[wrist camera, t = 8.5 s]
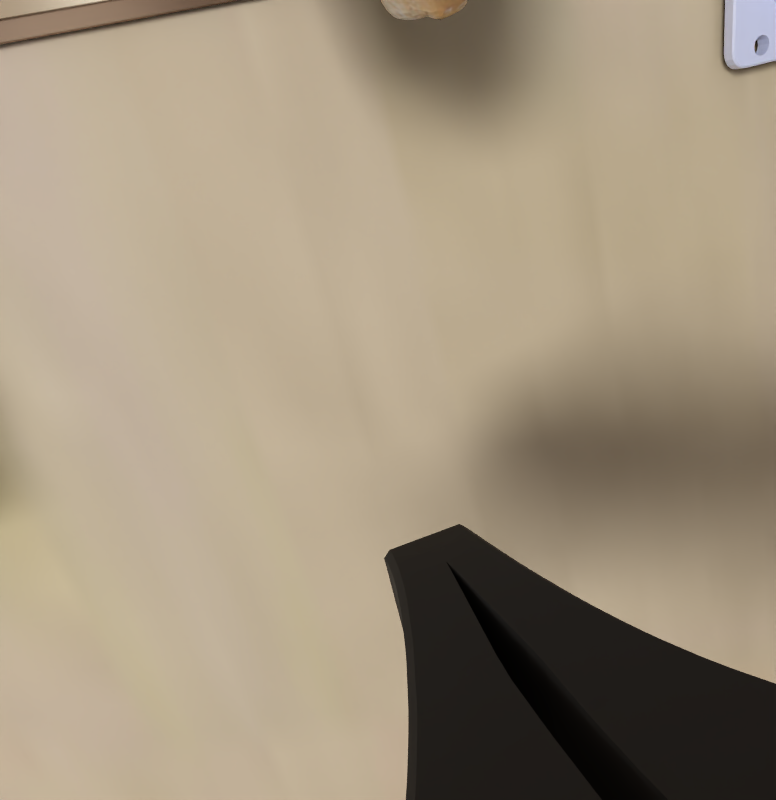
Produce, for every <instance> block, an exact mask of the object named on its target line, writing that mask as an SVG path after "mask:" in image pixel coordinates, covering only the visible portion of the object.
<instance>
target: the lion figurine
mask: <svg viewBox="0 0 776 800" xmlns="http://www.w3.org/2000/svg"><path fill="white" fill-rule="evenodd" d="M467 1H468V0H381V2H382V4H383V5H384V7H385V8H386V9H387V11H388V12H389V13H390V14H391V15H392V16H394V17H395V18H398V19H403V20H416V19H420V18H424V17H431V18H434V19H440V20H441V19H443V18H446V17H448V16H451V15H453V14H454V13H456V12H458V11H460V10H461V9H462V8H463V7H464V6H465V5H466V3H467Z"/></svg>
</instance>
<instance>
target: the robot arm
mask: <svg viewBox="0 0 776 800" xmlns="http://www.w3.org/2000/svg"><path fill="white" fill-rule="evenodd" d="M756 40H757V42H758V48H757V51H756V53H755V49H754V45H755V41H756ZM724 58H725V62H726V64H727V66H728V67H730V68H731V69H742V68H747V67H752V66H756V65H760V64H764V63H768V62H772V61H776V0H725V29H724ZM384 559H385V563H386V566H387V570H388V574H389V578H390V582H391V585H392V589H393V593H394V597H395V601H396V604H397V608H398V612H399V616H400V620H401V623H402V627H403V631H404V639H405V648H406V660H407V683H408V709H409V736H408V772H407V791H406V800H776V684H775V683H772V682H769V681H766V680H763V679H760V678H758V677H755V676H752V675H749V674H746V673H743V672H740V671H737V670H735V669H732V668H729V667H727V666H724V665H721V664H719V663H716V662H714V661H711V660H708V659H706V658H703V657H701V656H698V655H696V654H694V653H691V652H689V651H687V650H684V649H682V648H680V647H677V646H675V645H673V644H670V643H668V642H666V641H663V640H661V639H659V638H657V637H655V636H652V635H650V634H648V633H646V632H644V631H642V630H640V629H638V628H636V627H633V626H631V625H629V624H627V623H625V622H623V621H621V620H619V619H617V618H615V617H614V616H612V615H610V614H608V613H606V612H604V611H602V610H600V609H598V608H596V607H594V606H592V605H590V604H589V603H587V602H585V601H583V600H581V599H580V598H578V597H576V596H574V595H572V594H571V593H569V592H567V591H565V590H564V589H562V588H560V587H559V586H557V585H555V584H553V583H552V582H550V581H548V580H547V579H545V578H543V577H542V576H540V575H538V574H536V573H535V572H533V571H532V570H530V569H528V568H527V567H525V566H523V565H522V564H520V563H519V562H517V561H516V560H514V559H513V558H511V557H509V556H508V555H506V554H505V553H503V552H502V551H500V550H499V549H497V548H496V547H494V546H493V545H491V544H490V543H488V542H487V541H485V540H484V539H482V538H481V537H479V536H478V535H476V534H475V533H473V532H472V531H471V530H469V529H468V528H466V527H464V526H462V525H460V524H458V525H456V526H453V527H450V528H448V529H445V530H442V531H440V532H437V533H434V534H431V535H429V536H426V537H423V538H421V539H418V540H415V541H413V542H410V543H407V544H405V545H402V546H399V547H396V548H394V549H391V550H389V552H388V553H387V555H386V556H385V558H384Z"/></svg>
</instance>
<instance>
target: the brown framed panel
mask: <svg viewBox="0 0 776 800" xmlns="http://www.w3.org/2000/svg"><path fill="white" fill-rule="evenodd" d="M234 1H239V0H0V45H1V44H6V43H11V42H17V41H22V40H28V39H33V38H39V37H44V36H49V35H55V34H60V33H66V32H71V31H77V30H82V29H87V28H93V27H98V26H104V25H109V24H115V23H120V22H125V21H131V20H136V19H142V18H147V17H153V16H158V15H163V14H169V13H174V12H180V11H185V10H191V9H196V8H201V7H207V6H212V5H218V4H223V3H229V2H234Z"/></svg>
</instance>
